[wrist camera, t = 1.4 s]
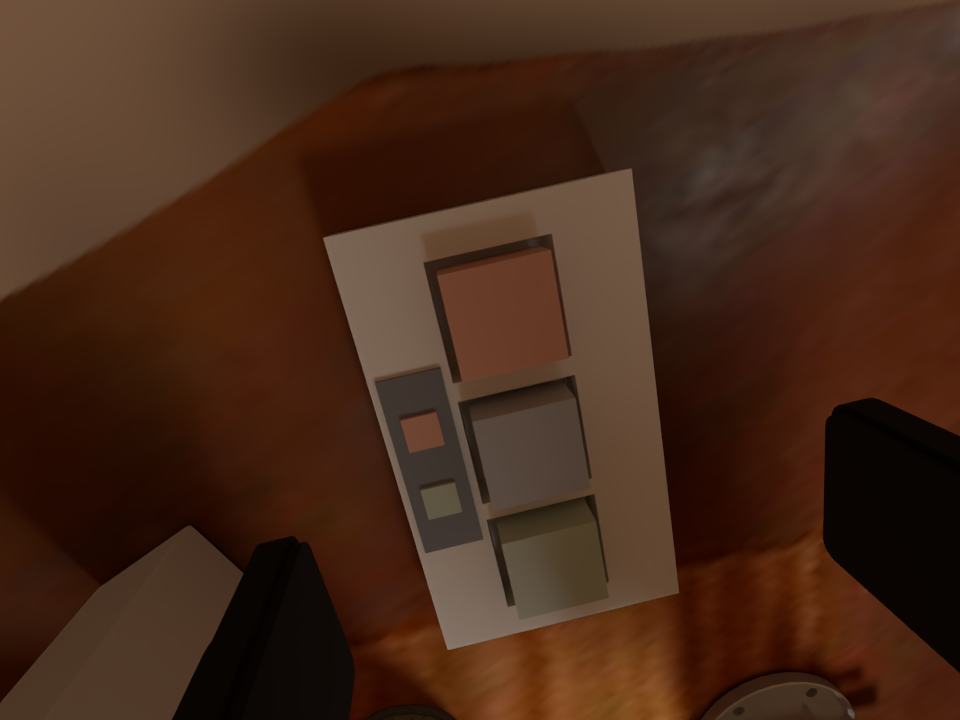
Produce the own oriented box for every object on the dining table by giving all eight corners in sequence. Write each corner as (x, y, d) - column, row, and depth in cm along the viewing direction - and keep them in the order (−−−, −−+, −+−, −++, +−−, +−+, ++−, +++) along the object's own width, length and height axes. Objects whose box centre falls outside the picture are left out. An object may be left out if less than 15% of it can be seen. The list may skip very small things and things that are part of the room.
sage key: (582, 494, 29) (596, 521, 26) (594, 566, 30) (608, 598, 28) (495, 515, 28) (501, 544, 26) (512, 587, 30) (519, 620, 28)
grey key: (562, 380, 26) (575, 398, 24) (576, 463, 28) (590, 488, 26) (468, 402, 26) (472, 422, 24) (488, 485, 28) (493, 511, 26)
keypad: (605, 172, 26) (635, 167, 22) (654, 554, 34) (682, 597, 30) (336, 233, 26) (320, 238, 22) (446, 605, 33) (448, 655, 29)
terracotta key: (538, 245, 24) (550, 250, 22) (556, 343, 26) (568, 358, 23) (436, 268, 24) (437, 275, 22) (459, 366, 26) (462, 383, 23)
